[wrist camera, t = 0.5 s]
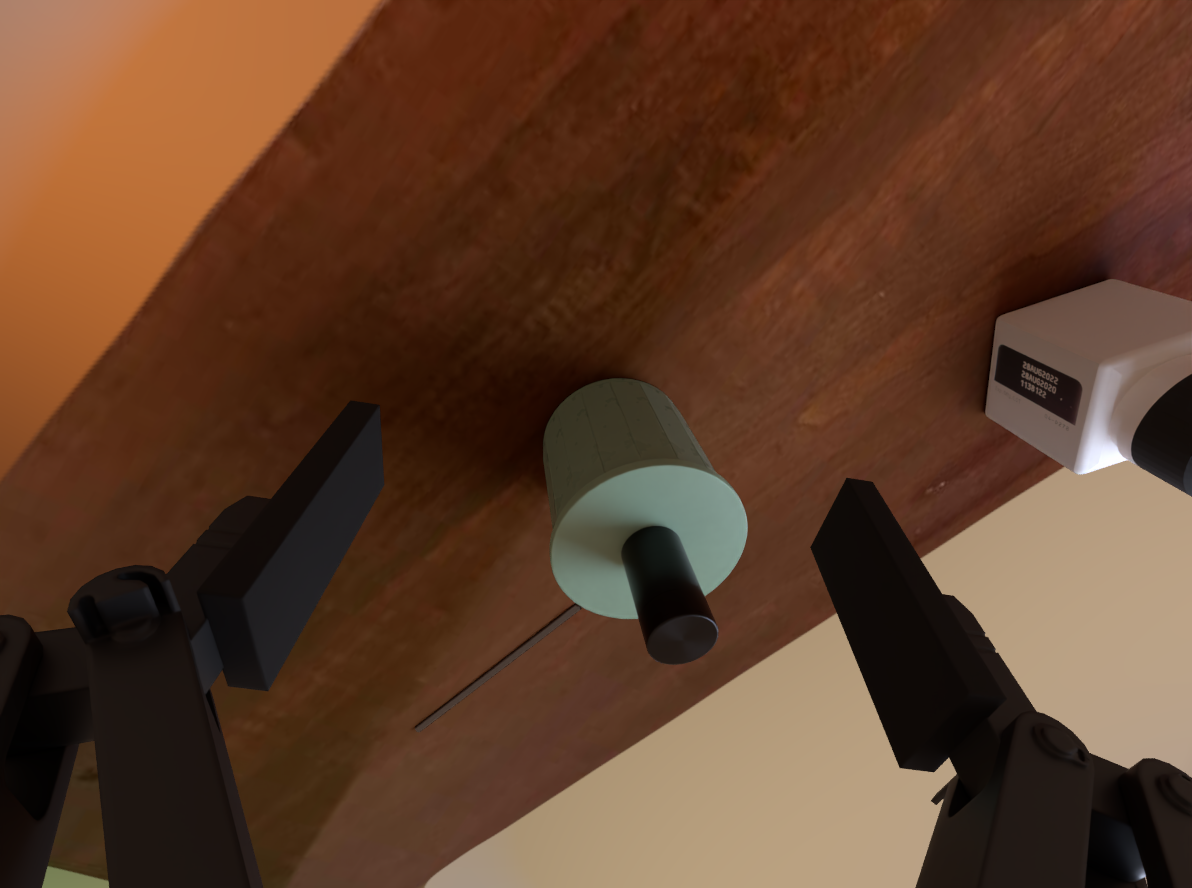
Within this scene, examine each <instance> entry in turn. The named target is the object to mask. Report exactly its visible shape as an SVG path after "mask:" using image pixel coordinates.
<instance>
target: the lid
mask: <svg viewBox="0 0 1192 888" xmlns="http://www.w3.org/2000/svg"><path fill="white" fill-rule="evenodd" d="M746 537H747V517H746V513H745V510H744V506H743V504H742V502H741V500H740V498H739V497H738V495H737V493H736V492H735V491H734V489H733V488H732V486H731V485H730V484H729V483H728V482H727V481H726V480H725V479H724V478H723V477H722V476H720V475H719V474H717V473H716V472H714V471H713V470H711V469H709V468H707V467H704V466H702V465H699V464H696V463H693V462H690V461H685V460H679V459H666V458H663V459H649V460H643V461H637V462H633V463H629V464H626V465H623V466H620V467H617V468H615V469H612V470H610V471H608V472H606V473H604V474H602V475H600V476H599V477H597V478H595V479H594V480H592V481H591V482H589V483H588V484H587V485H585V486H584V487H583V488H582V489H581V490H579V491H578V492H577V493H576V494H575V495H574V496H573V497H572V498H571V500H570V501H569V502H568V503H567V504H566V506H565V507H564V508H563V510H562V511H561V513H560V515H559V517H558V519H557V521H556V523H555V525H554V528H553V531H552V534H551V539H550V561H551V566H552V571H553V574H554V577H555V579H556V581H557V583H558V584H559V586H560V588H561V589H562V590H563V591H564V593H565V594H566V595H567V596H568V597H569V598H570V599H571V600H573V601H574V602H575V603H576V604H578V605H580V606H581V607H583V608H585V609H587V610H589V611H591V612H593V613H597V614H600V615H603V616H608V617H613V618H622V619H639V622H640V626H641V629H642V633H643V636H644V640H645V644H646V647H647V651H648V653H649V654H650V656H651V657H652V658H653V659H655V660H656V661H658V662H660V663H664V664H670V665H677V664H684V663H688V662H691V661H694V660H696V659H698V658H700V657H702V656H703V655H705V654H706V653H707V652H709V651H710V650H711V649H712V647H713V646H714V645H715V643H716V641H717V638H718V627H717V624H716V622H715V620H714V617H713V615H712V613H711V610H710V608H709V606H708V603H707V601H706V598H705V596H706V595H707V594H708V593H710V592H711V591H712V590H714V589H715V588H716V587H717V586H718V585H719V584H720V583H721V582H722V581H723V580H724V579H725V578H726V577H727V576H728V575H729V574H730V572H731V571H732V570H733V568H734V567H735V565H736V564H737V562H738V560H739V558H740V556H741V554H742V551H743V549H744V546H745V542H746Z"/></svg>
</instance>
